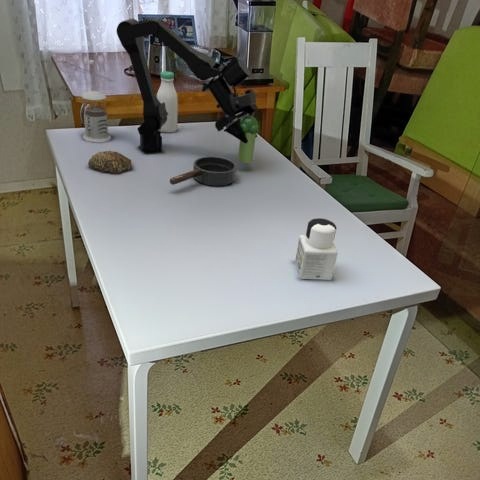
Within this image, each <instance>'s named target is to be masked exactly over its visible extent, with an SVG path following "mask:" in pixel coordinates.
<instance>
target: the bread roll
mask: <svg viewBox="0 0 480 480" xmlns="http://www.w3.org/2000/svg"><path fill="white" fill-rule="evenodd" d="M87 165H88V167H89V168H91V169H92V170H94V171H97V172H101V173H107V174H114V175H116V174H120V173H122V172H124V171H126V170H127V171H131V170H133V165H132V159H131V158H129V157H127V156H125V155H124V154H122V153H121V152H118V151H113V150H105V151H104V150H103V151H98V152H96V153H95V154H93V155H92V156H91V157H90V159H89V160H88V163H87Z"/></svg>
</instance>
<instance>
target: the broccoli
mask: <svg viewBox="0 0 480 480" xmlns="http://www.w3.org/2000/svg"><path fill="white" fill-rule="evenodd" d="M240 126H241V128H242V130H243V132H244V134H245V136H246V138H247V140H248V142H247V143H246V144H245V143H244V142H242V141H240V140H239V145H238V156H237V160H238V161H239V162H241V163H245V164H246V163H247V164H248V163H253V161H254V152H255V144H256V138H255V136H256V134H257V133H258V132H259V123H258V120H257V118H255V117H253V116H246V117H244V118H243V119H242V121H241V123H240Z"/></svg>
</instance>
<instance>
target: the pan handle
mask: <svg viewBox="0 0 480 480" xmlns="http://www.w3.org/2000/svg"><path fill="white" fill-rule="evenodd" d="M200 175H202V170H201V169H196V170H190V171H188V172H184V173H182V174H178V175H176V176H173V177H171V178H170V179H169V183H170V185H173V186H175V185H177V184H180V183H182V182H186V181H189V180H191V179H195V178H194V177H197V176H200Z"/></svg>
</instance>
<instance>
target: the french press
mask: <svg viewBox="0 0 480 480" xmlns="http://www.w3.org/2000/svg"><path fill="white" fill-rule="evenodd" d="M88 65H90V66H91V67H93V65H95V60H93V59H89V60H88ZM93 73H94V71H93V70H91V78H92V81H94V74H93ZM94 86H95V85H94V83H92V90H90V91H86V92H84V93H83V94H81V98H82V99H83V100H84V101H89V102H93V104H94V105H90V103H87V105H86V102H84V103H82V105H81V106H80V107H81V108H80V113H79V114H80V120H81V123H82V124H83V125H84V132H85V133H84V134H83V135H82V139H83V140H84V141H87V142H90V143H91V142H92V143H104V142H105V143H106V142H108V141H109V142H110V140H112V136H111V135H110V133H109V129H108V128H109V125H108V113H107V112H106V111H107V109H106V108H105V107H104V106H101V105H96V102H101V101H105V100H106V99H107V96H106V95H105V94H104V93H103V92H100V91H97V90H95V87H94ZM83 106H85V107H84V109H83ZM83 110H84V112H83V119H82V111H83Z"/></svg>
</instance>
